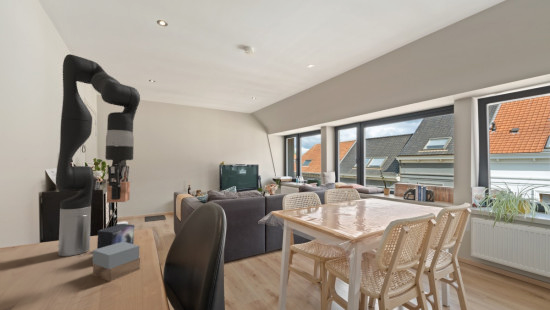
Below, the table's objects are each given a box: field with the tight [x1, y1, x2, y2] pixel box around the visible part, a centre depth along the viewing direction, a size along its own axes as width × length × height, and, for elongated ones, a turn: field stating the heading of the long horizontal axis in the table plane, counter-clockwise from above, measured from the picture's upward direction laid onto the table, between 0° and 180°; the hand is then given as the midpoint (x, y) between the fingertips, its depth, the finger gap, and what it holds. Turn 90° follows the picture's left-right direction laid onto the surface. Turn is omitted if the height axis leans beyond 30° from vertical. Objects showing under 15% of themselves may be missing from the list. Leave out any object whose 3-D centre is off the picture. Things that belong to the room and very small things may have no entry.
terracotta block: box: [106, 181, 131, 204], centre depth 75 cm, size 5×5×6 cm
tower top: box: [92, 242, 140, 269], centre depth 74 cm, size 9×9×4 cm
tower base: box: [92, 257, 141, 282], centre depth 74 cm, size 9×9×4 cm
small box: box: [96, 223, 135, 249], centre depth 88 cm, size 11×6×10 cm, turn 168°
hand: (118, 197), depth 75 cm, fingers closed on terracotta block, 5 cm apart
